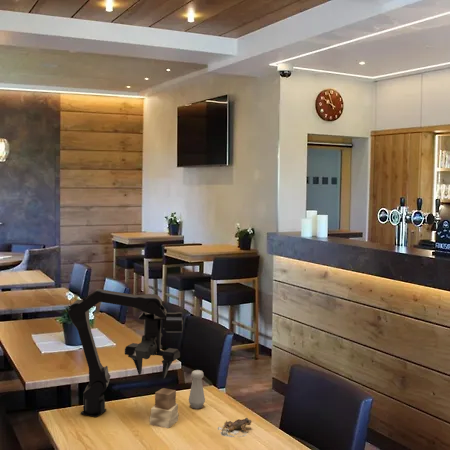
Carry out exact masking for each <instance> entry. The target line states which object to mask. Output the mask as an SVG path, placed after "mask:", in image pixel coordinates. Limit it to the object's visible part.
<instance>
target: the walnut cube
mask: <svg viewBox="0 0 450 450" xmlns="http://www.w3.org/2000/svg"><path fill="white" fill-rule="evenodd" d="M176 397H177V390H176V389H170V388H165V387H163V388H161V389H158V390H157V391H155V393H154V405H155V407H156V408H161V409H166V410H169V409H170V408H172V407H173V406H175V405H176V401H177V398H176Z"/></svg>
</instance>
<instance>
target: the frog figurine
mask: <svg viewBox="0 0 450 450" xmlns="http://www.w3.org/2000/svg"><path fill="white" fill-rule="evenodd" d="M251 423H252V420H251V419H249V418H248V417H245V418H244V419H236V420H235V421H231V420H229V421H228V420H226V421H225V422H224V424H223V425H222V427H221V426H218V427H217V431H219V430H221V431H220V435H221V436H222V437H229V438H235V437H236V436H235V435H237V434H238V433H240V432H242V434H244V435H240V436H239V438H242V437H245V436H247V435H248V434H249V433H250V431H249V430H248V429H247V428H246V427H247V426H251ZM239 431H240V432H239ZM229 433H230V434H229ZM231 434H232V435H231ZM233 435H234V436H233Z"/></svg>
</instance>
